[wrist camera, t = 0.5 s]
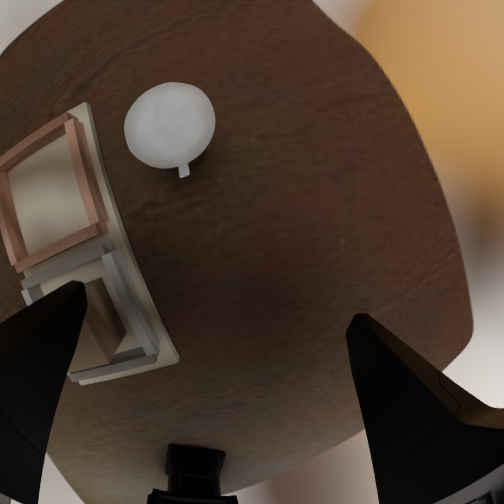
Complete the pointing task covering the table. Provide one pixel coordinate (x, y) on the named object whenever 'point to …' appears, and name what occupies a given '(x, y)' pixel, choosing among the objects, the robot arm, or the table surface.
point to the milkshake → (170, 127)
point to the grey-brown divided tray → (80, 247)
